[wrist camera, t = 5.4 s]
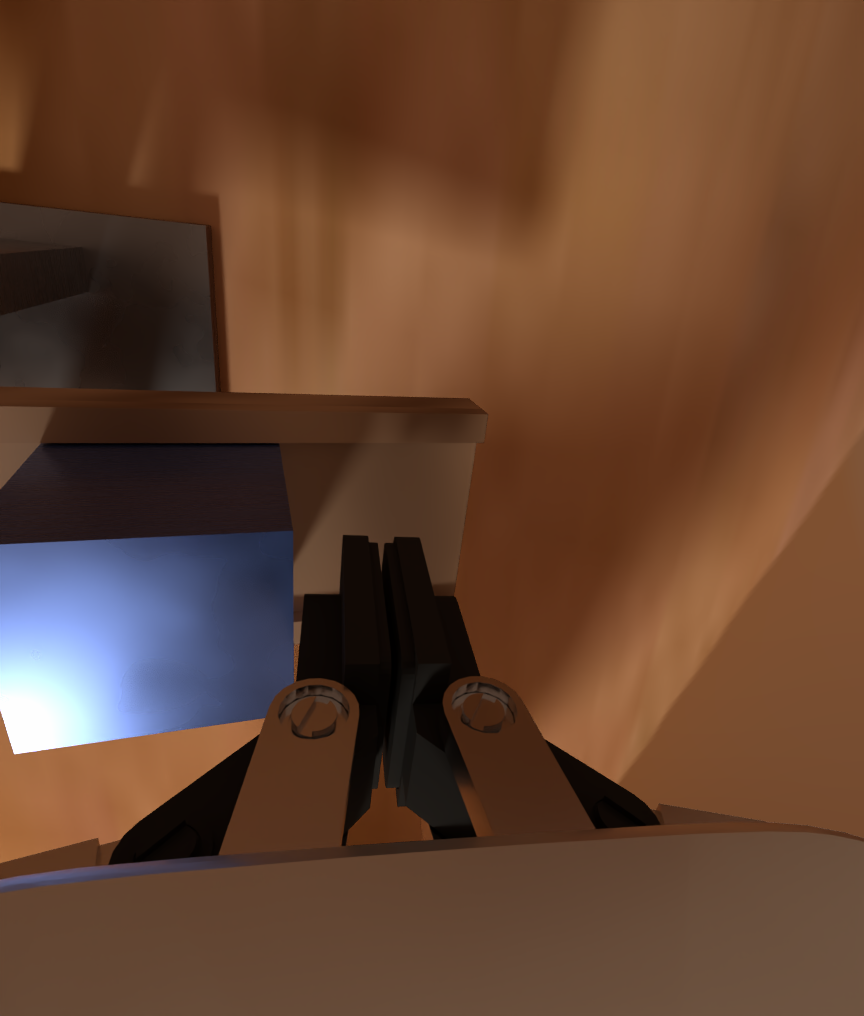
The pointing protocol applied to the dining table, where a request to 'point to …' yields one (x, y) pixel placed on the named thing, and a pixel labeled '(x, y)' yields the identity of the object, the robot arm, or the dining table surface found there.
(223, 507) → the blue block
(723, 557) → the dining table surface
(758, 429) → the dining table surface
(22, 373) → the stand
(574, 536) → the dining table surface
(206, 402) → the beam
